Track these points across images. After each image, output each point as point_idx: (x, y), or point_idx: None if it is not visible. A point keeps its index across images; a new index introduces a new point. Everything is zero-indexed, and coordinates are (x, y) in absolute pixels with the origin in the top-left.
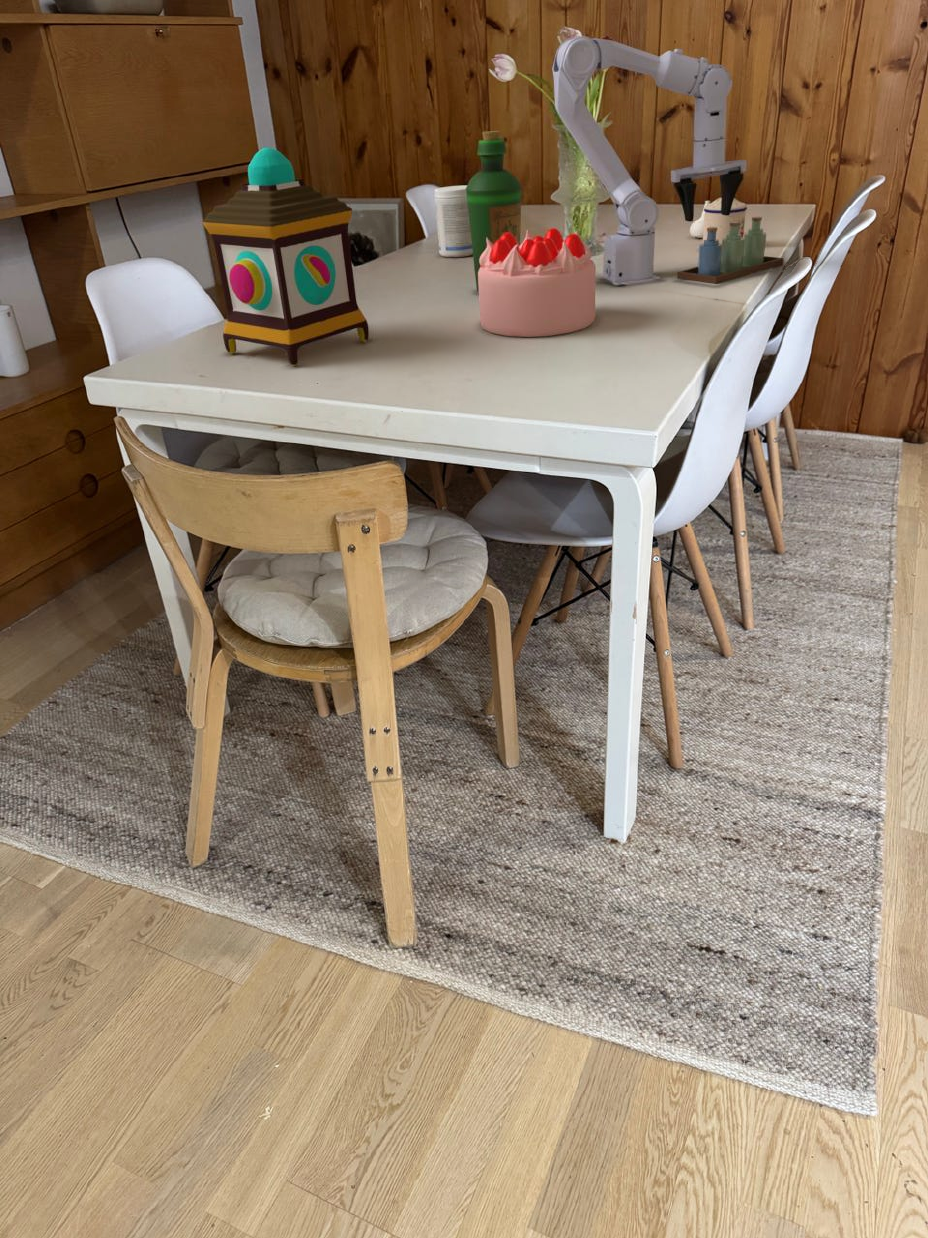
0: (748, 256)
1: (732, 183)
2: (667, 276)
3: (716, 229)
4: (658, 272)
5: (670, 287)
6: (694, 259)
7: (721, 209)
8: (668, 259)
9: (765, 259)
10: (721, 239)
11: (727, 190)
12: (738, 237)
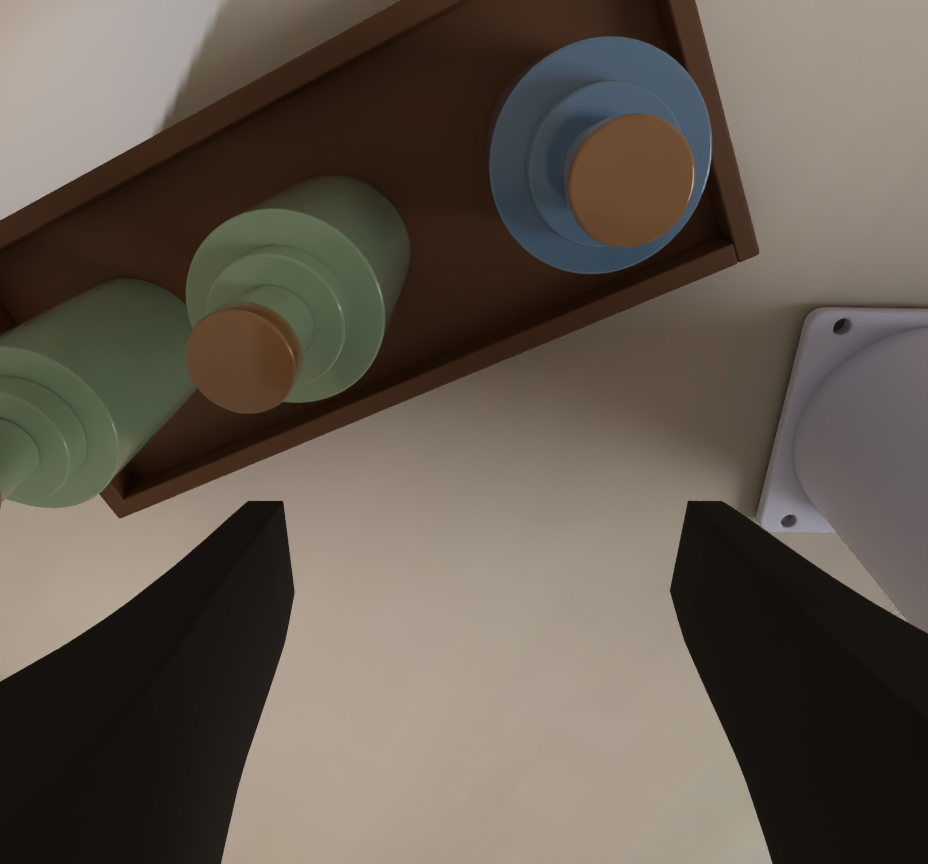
0: (162, 330)
1: (93, 734)
2: (689, 408)
3: (602, 122)
4: (664, 524)
5: (892, 83)
6: (344, 684)
7: (286, 628)
8: (452, 738)
9: None
10: None
11: (190, 730)
12: (259, 249)
